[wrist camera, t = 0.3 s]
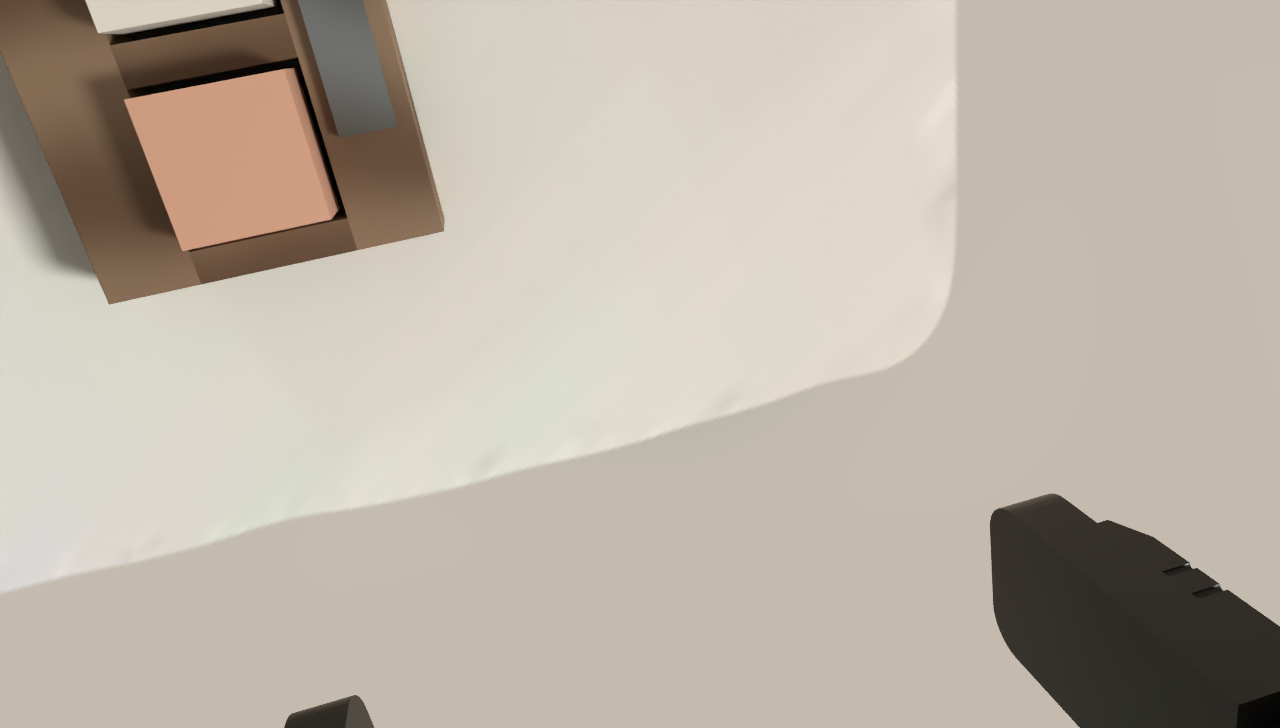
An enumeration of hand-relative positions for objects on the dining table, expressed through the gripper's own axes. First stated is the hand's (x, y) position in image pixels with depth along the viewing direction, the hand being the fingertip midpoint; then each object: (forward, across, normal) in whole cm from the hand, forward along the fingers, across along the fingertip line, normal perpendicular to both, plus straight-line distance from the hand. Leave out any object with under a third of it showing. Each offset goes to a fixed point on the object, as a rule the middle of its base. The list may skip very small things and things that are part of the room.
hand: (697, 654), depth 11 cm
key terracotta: (+25, +9, -5) cm, 27 cm away
